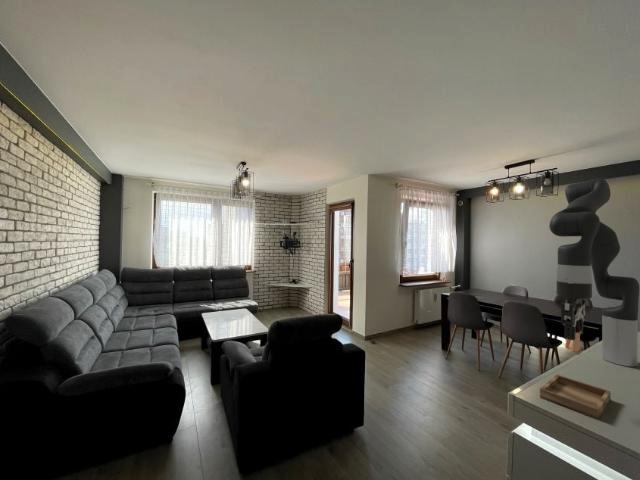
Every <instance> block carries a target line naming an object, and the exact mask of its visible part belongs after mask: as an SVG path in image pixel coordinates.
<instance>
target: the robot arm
mask: <svg viewBox="0 0 640 480" xmlns="http://www.w3.org/2000/svg"><path fill="white" fill-rule="evenodd" d="M564 192H565V193H564V194H565V198H566V202H567V203H568V204H567V206H566V208H564V209H561V210H560V211H558V212H556V213H554V215H553V216H551V219H550V221H549V225H548V226H549V230H550V232H551V233H552V234H553V235H555V236H557V237H581V238H580V239H579V241H577V242H575V243H569V244H563V245H560V246H559V247H558V248H557V268H556V295H558V296H559V297H564V298H565V302H561V303H560V307H561V308H560V310H561V313H560V315H561V316H560V323H561V324H562V325H563V337H564V339H565V340H566V339H569V340H575V326H576V321H577V320H578V321H579V323H580V327H581V331H582V333H580V336H581V335H583V334H584V322H585V319H586V318H587V316H586V300H590V299H592V297H593V280H594V283H595V284H594V285H595V288H596V291H597V293H598V295H599V296H600V297H602V298H605V299H609V300H616V301H622V303H621V304H620V305H617V306H608V307H607V306H606V307H603V308H602V309H601V310H602V311H601V313H602V314H601V315H602V316H601V323H602V325H601V326H602V327H601V330H602V331H601V333H602V338H601V339H602V340H601V341H602V342H601V344H602V348H601V349H602V350H601V351H602V352H601V353H602V355H601V356H602V357H601V358H602V359H603V360H605V361H606V362H609V363H612V364H617V365H620V366H624V367H632V368H633V367H634V368H635V366H636V367H638V365H639V364H638V363H639V361H638V360H639V349H638V348H639V344H638V343H639V339H638V338H639V335H638V332H639V331H638V330H639V328H638V327H639V326H638V322H639V321H638V320H639V318H638V316H639V303H640V302H639V301H640V283H639V281H638V279H637V278H636V277H629V276H618V275H610V274H609V273H608V268H609V266H610V265H611V264H612V262H613V261H614V260H615V259H616V258H617V257H618V255H619V253H620V250H621V245H620V242H619V238H618V235H617V233H616V232H615V230H614V229H612V228H611V227H609V226H608V225H606V224H605V223H604V222H602V221H601V220H600V216H598V215H597V214H596V213H597V211H598V210H600V208H602V207H603V206H604V205H606V204H607V203H608V202H609V200H610V199H611V188H610V185H609V183H608V181H607V180H605V179H604V178H593V179H588V180H585V181H579V182H574V183H571V184H568V185H567V186H566V187H565V191H564ZM580 312H581V313H582V315H583V318H580V319H579V317H580ZM568 319H569V320H568ZM570 319H571V320H570Z"/></svg>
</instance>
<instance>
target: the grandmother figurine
mask: <svg viewBox="0 0 640 480" xmlns="http://www.w3.org/2000/svg"><path fill="white" fill-rule="evenodd" d="M580 318H583V315H582V313H581V312H580V317H579V319H580ZM570 320H571V319H569V321H570ZM580 333H582V331H581V327H580V323H579V321H578V320H577V321H576V326H575V340H569V339H566V338H565V342H564V343H565V346H564V348H565V349H567V353H568V354H572V355H577V356H581V354H582V353H583V351H582V350H581V348H582V347H581V338H580V337H581V335H580Z"/></svg>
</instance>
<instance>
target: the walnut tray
mask: <svg viewBox="0 0 640 480" xmlns="http://www.w3.org/2000/svg"><path fill="white" fill-rule="evenodd" d="M611 395H612V394H611V391H610V390H607V389H604V388H602V387H598V386H595V385H592V384H588V383H585V382H582V381H579V380H576V379H572V378H569V377H566V376H563V375H560V374H556V375H554V376H553V377H552V378H551V379H550V380H548V381H547V382H546V383H545V384H544V385H542V386H541V387H540V388H539V398H540V399H543V400H546V401H548V402H551V403H553V404H556V405H558V406H561V407H563V408H567V409H570V410H571V411H574V412H577V413H580V414H583V415H584V416H587V417H590V418H593V419H595V420H598V421H599V420H600V419H601V417H602V415H603V413H604V412H605V410H606V409H607V406H608V405H609V403H610V402H611V398H612V396H611Z"/></svg>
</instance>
